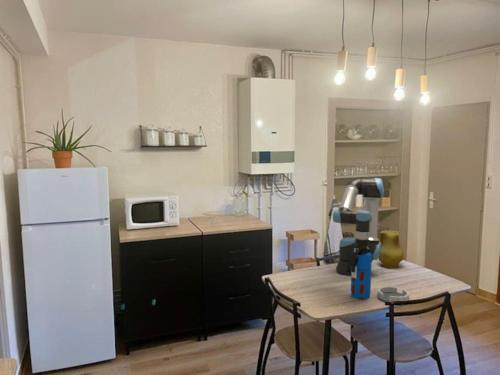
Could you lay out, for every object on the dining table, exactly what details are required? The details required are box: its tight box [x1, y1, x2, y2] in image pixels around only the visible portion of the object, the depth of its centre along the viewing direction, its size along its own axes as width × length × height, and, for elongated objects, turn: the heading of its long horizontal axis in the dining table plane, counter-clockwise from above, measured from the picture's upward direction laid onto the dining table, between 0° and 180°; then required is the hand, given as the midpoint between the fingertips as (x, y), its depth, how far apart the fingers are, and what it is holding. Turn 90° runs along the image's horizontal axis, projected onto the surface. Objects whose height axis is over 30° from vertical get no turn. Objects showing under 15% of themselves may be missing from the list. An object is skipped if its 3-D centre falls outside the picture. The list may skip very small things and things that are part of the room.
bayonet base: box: [376, 285, 410, 303], centre depth 217 cm, size 17×17×4 cm
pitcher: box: [378, 230, 405, 269], centre depth 277 cm, size 17×19×25 cm
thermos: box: [350, 252, 373, 301], centre depth 220 cm, size 11×11×25 cm
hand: (360, 275), depth 219 cm, fingers open, 13 cm apart
